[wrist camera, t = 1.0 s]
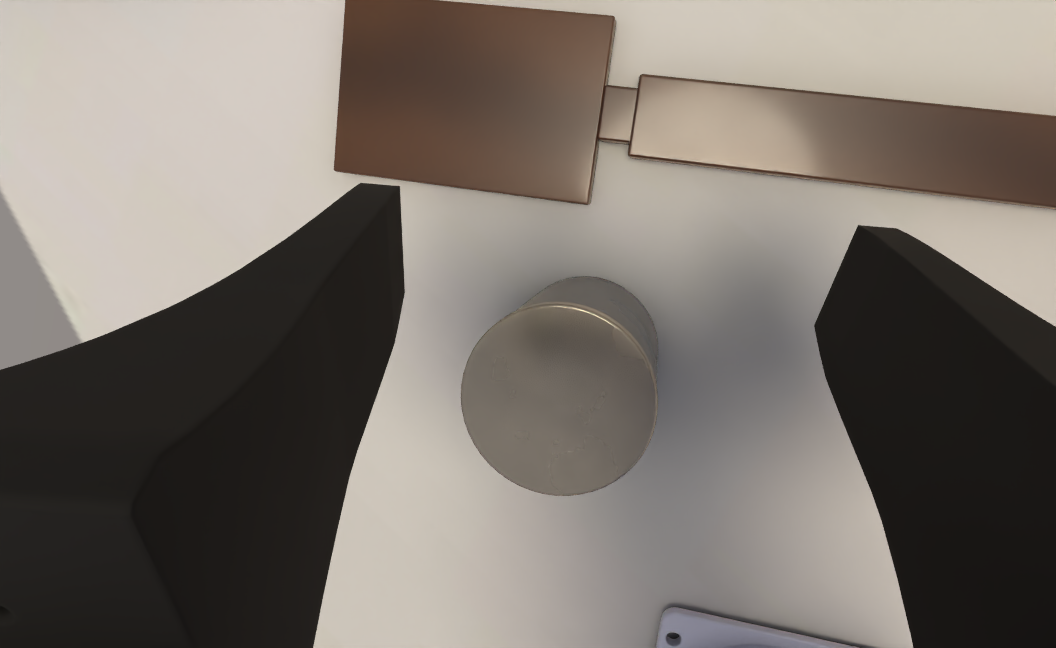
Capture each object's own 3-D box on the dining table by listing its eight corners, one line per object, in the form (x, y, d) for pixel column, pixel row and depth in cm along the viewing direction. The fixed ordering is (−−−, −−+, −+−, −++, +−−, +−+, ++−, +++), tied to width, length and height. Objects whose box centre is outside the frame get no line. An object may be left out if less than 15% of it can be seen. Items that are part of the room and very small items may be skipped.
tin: (646, 429, 24) (640, 514, 17) (505, 404, 24) (450, 476, 18) (670, 286, 23) (673, 321, 16) (522, 264, 23) (471, 290, 17)
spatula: (1182, 283, 20) (1208, 287, 19) (342, 171, 24) (328, 170, 23) (1247, 77, 19) (1279, 71, 18) (354, -3, 23) (340, -12, 22)
